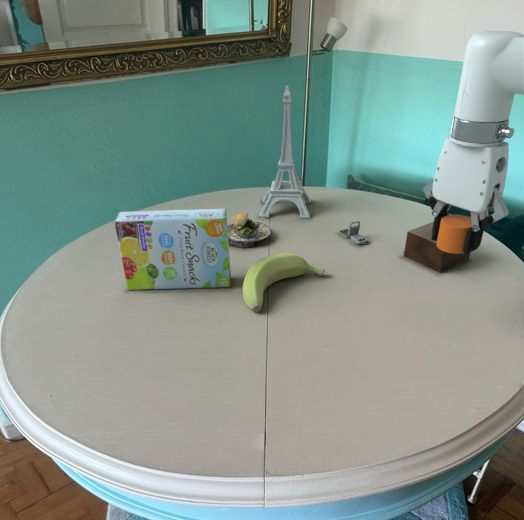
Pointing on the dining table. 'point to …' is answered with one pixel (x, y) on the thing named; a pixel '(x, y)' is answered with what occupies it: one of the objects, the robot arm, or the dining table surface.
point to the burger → (246, 231)
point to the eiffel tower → (286, 163)
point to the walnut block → (430, 250)
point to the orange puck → (453, 233)
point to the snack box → (174, 248)
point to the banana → (272, 275)
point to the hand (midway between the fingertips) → (454, 243)
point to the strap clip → (354, 233)
